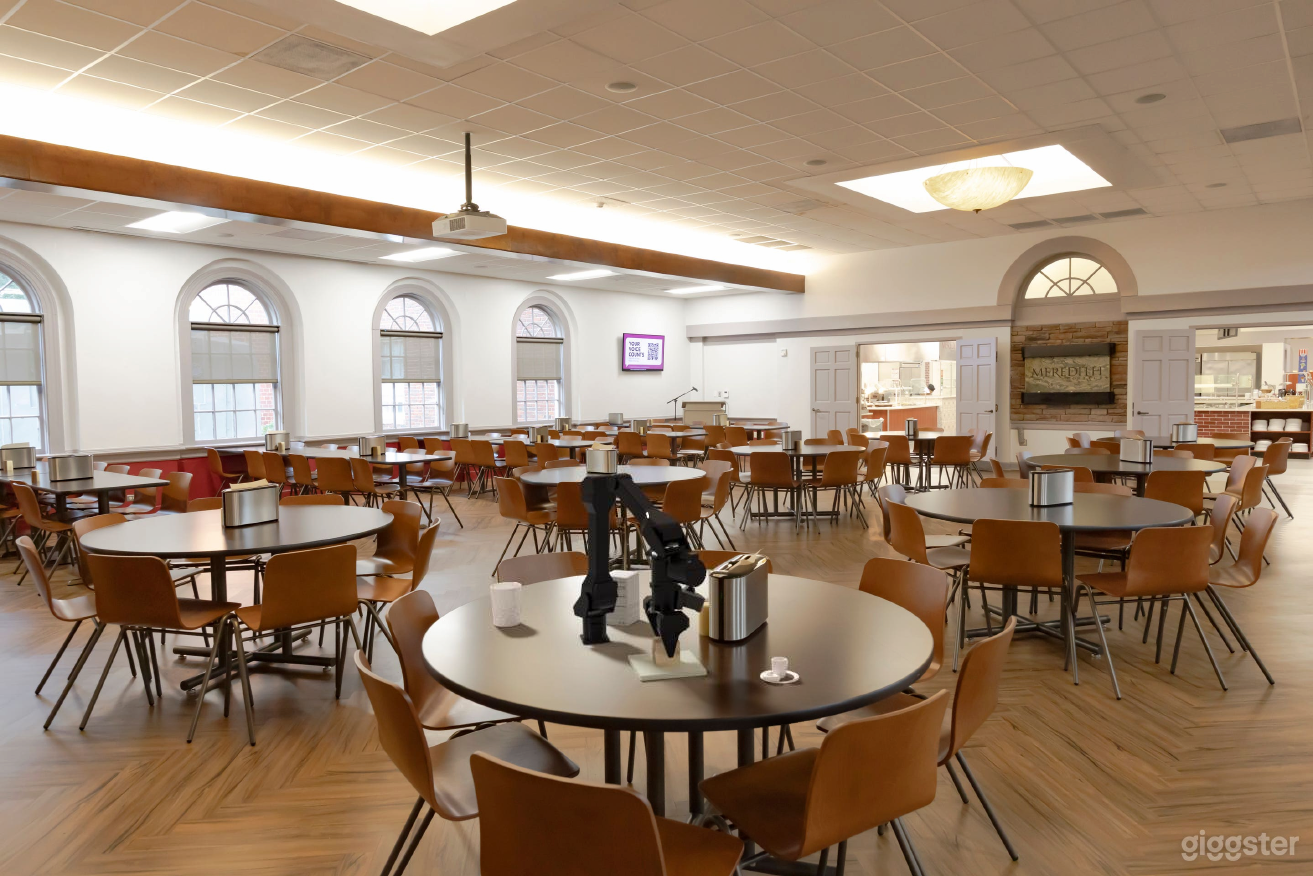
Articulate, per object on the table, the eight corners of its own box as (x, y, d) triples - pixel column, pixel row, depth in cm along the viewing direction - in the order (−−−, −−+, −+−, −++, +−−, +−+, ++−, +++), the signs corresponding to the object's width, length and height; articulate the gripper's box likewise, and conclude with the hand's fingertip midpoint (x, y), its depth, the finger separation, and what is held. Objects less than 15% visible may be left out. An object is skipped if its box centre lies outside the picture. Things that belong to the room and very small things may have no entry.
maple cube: (652, 659, 179) (652, 637, 179) (674, 657, 180) (674, 635, 180) (657, 667, 174) (656, 643, 174) (680, 665, 175) (679, 641, 175)
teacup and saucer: (769, 688, 165) (769, 668, 164) (749, 676, 172) (749, 657, 172) (806, 681, 168) (806, 662, 168) (785, 670, 175) (785, 651, 175)
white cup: (501, 629, 208) (500, 590, 207) (485, 623, 214) (484, 585, 213) (528, 623, 213) (527, 585, 212) (512, 618, 219) (511, 580, 218)
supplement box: (615, 616, 218) (614, 569, 218) (640, 619, 215) (639, 571, 215) (602, 623, 212) (601, 575, 211) (627, 626, 209) (626, 577, 208)
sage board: (628, 659, 182) (628, 655, 182) (689, 654, 185) (689, 650, 185) (640, 680, 169) (640, 676, 169) (706, 674, 172) (706, 670, 172)
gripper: (713, 586, 169) (714, 661, 170) (690, 568, 187) (691, 635, 188) (660, 590, 166) (661, 666, 167) (641, 570, 185) (643, 639, 185)
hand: (665, 651), depth 177 cm, fingers open, 9 cm apart
